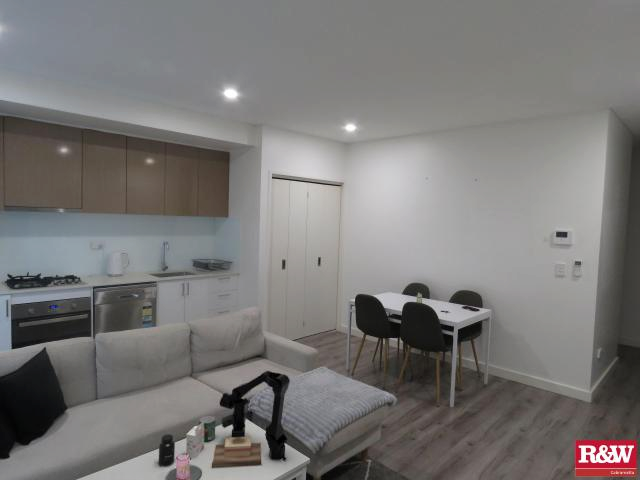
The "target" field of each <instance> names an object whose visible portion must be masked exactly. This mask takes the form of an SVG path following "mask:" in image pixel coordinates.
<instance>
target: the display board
mask: <svg viewBox="0 0 640 480" xmlns="http://www.w3.org/2000/svg"><path fill="white" fill-rule="evenodd" d="M224 449H225V443H224V444H215V447H214V453H213V458H212V462H211V469H220V468H236V467H237V468H239V467H254V466H255V467H257V466H262V443H261V442H251V452H250V456H240V457H224V454H225V452H224Z"/></svg>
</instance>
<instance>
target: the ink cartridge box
mask: <svg viewBox="0 0 640 480" xmlns="http://www.w3.org/2000/svg"><path fill="white" fill-rule="evenodd" d="M204 449H205V442H204V421H203V422H202V423H201V424H200V425H195V426H193V427H192V428H191V429H190V430H189V432H187V433H186V454H189V455H190V458H191V459H193V458H194V459H196V458H197V457H198V456H199V454H200V453H202V451H203V450H204Z"/></svg>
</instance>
